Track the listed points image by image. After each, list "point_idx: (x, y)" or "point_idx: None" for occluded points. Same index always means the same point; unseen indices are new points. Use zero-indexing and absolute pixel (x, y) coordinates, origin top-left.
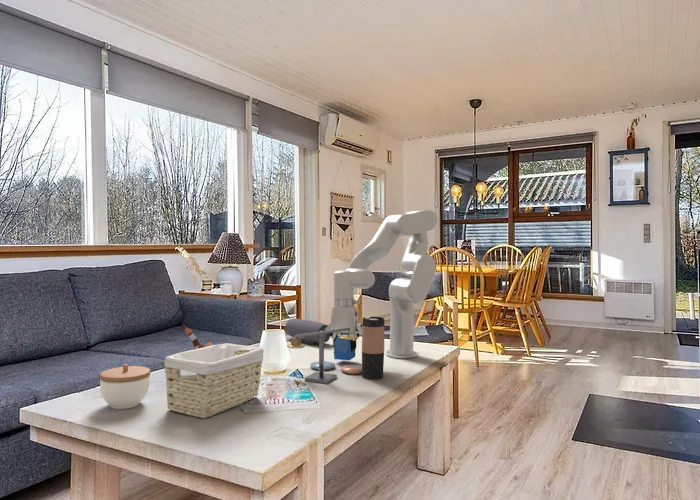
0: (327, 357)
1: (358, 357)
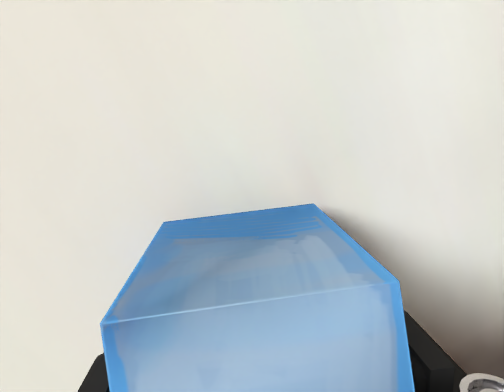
0: (18, 195)
1: (257, 38)
